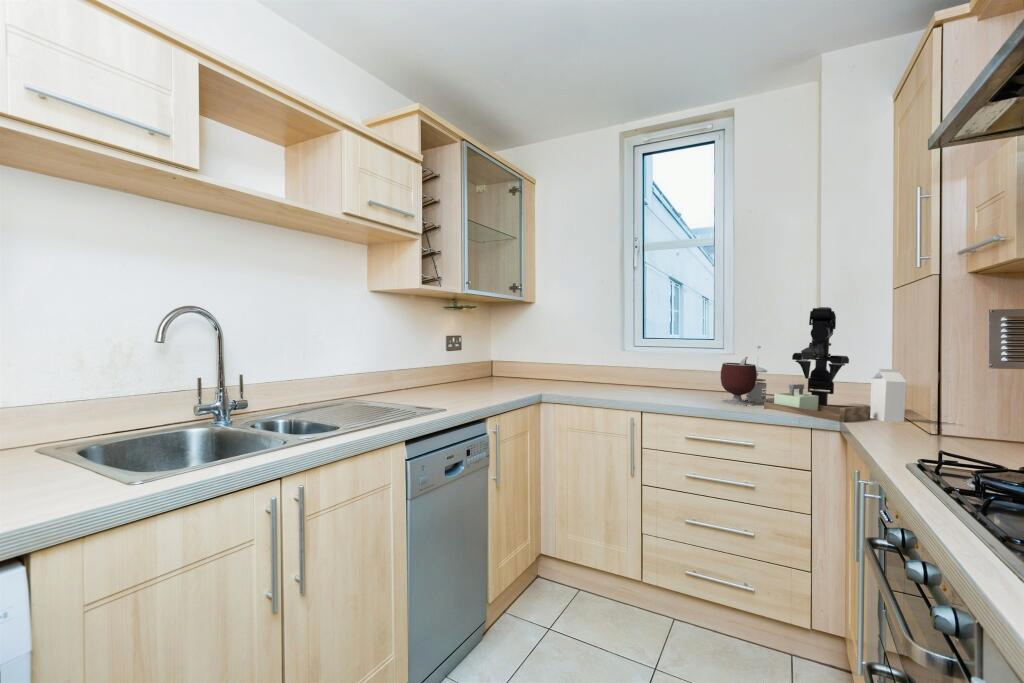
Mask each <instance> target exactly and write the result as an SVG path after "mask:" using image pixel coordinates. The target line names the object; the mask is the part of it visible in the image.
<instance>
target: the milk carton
mask: <svg viewBox="0 0 1024 683" xmlns="http://www.w3.org/2000/svg"><path fill="white" fill-rule="evenodd" d="M906 395H907V381H906V379H905V377H904V376H903V375H902V374H901V373H900V369H897V368H895V369H894V368H892V369H890V368H879V369H878V372H877V373H876V374H875V375H874V376H873V377H872V378H871V383H870V400H869V402H870V403H869V406H871V411H870V419H873V420H878V421H880V422H881V421H882V422H891V423H892V422H894V423H896V422H897V423H898V422H899V423H900V422H901V423H905V411H906Z"/></svg>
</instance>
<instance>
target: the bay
mask: <svg viewBox="0 0 1024 683" xmlns="http://www.w3.org/2000/svg"><path fill="white" fill-rule="evenodd" d="M763 409H764V410H772V411H773V410H774V411H779V412H784V413H790V414H795V415H799V416H807V417H812V418H817V419H822V420H823V419H824V420H829V421H834V422H839V423H851V422H857V421H858V422H859V421H866V420H867V421H868V420H871V418H870V411H871V406H870V405H858V406H847V407H834V406H830V405H829V406H828V405H827V406H822V405H818V411H816V410H810V409H804V408H798V407H792V406H786V405H780V404H774V402H769V401H768V402H764V403H763Z"/></svg>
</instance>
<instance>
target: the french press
mask: <svg viewBox="0 0 1024 683" xmlns="http://www.w3.org/2000/svg"><path fill="white" fill-rule="evenodd" d="M755 348H756V349H757V351H759V349H761V345H759V344H758V345H756V346H755ZM756 359H757V360H756V361H757V362H756V364H757V365H756V372H757V377H756V384H755V387H754V389H753V390H752V391H751V392H749V393H746V394H745V395H746V398H744V399H743V401H745V400H748V401H747V402H750V401H755V402H754V403H760V402H767V401H768V400H767V383H766V379H763V378H758V376H759V373H767V372H768V370H767V369H765V368H763V367H760V366H759V357H757V358H756Z"/></svg>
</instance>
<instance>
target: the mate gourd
mask: <svg viewBox="0 0 1024 683" xmlns="http://www.w3.org/2000/svg"><path fill="white" fill-rule="evenodd" d="M747 360H748V356H745V357H744V358H743V359H742V360H741V361H740V362H722V365H721V368H720V383H721V387H722V388H723V389H724V391H726V392H728V393H730V394H732V395H733V398H732V399H722V400H721V403H722V404H724V403H726V404H725V405H728V404H732V405H731V406H736V405H752V406H754V402H750V401H745V400H743V398H742V396H744V395H746V393H749V392H751V391H752V390H753V389H754V387H755V384H756V378H758V376H757V373H758V372H756V367H757V365H756V364H754V363H747Z"/></svg>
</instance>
